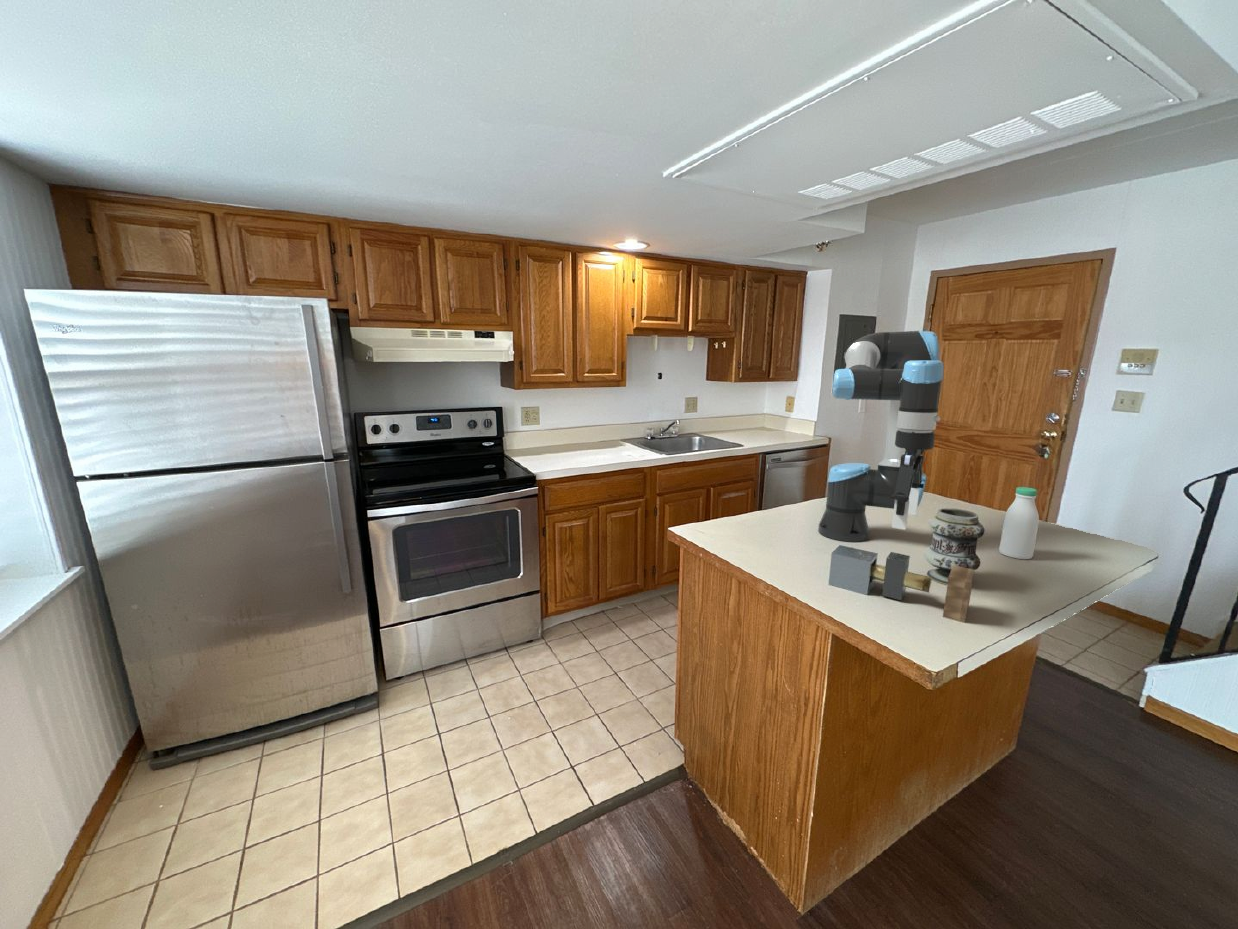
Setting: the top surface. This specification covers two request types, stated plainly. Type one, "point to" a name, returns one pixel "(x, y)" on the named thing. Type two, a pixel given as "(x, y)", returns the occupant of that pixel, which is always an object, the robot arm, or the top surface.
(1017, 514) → the milk bottle
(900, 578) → the tube
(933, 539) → the apothecary jar
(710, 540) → the top surface
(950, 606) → the socket block
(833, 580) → the sleeve
